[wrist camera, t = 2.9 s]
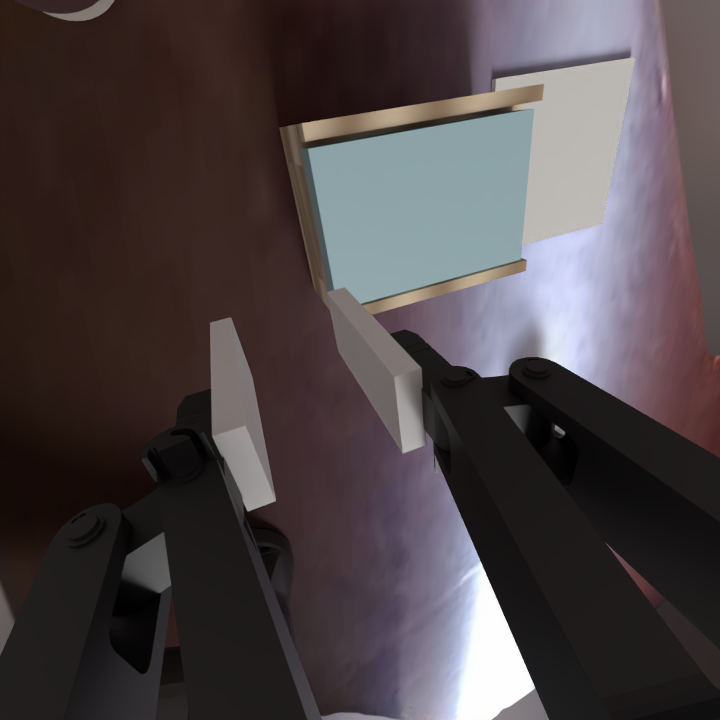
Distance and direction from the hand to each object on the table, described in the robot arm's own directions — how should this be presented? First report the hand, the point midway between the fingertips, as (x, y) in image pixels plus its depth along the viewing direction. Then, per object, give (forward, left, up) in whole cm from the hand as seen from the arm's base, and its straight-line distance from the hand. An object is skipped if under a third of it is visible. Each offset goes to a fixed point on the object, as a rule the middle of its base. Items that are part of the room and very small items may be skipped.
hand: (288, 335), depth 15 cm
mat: (+33, 0, -23) cm, 40 cm away
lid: (+14, 0, -16) cm, 21 cm away
